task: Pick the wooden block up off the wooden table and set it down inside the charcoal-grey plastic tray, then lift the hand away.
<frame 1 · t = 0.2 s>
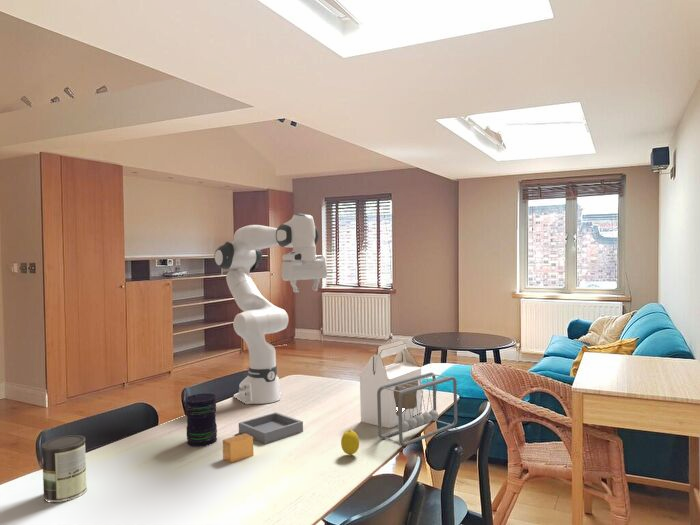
hand: (305, 291, 200), 48 cm above the table, tool pointing down, fingers open, 8 cm apart
black ridged cylinder: (202, 442, 174), on the table
coffee can: (65, 494, 138), on the table
grey tray: (270, 432, 182), on the table
newton's cradle: (419, 433, 177), on the table
gable box: (392, 417, 195), on the table
lemon: (350, 456, 159), on the table
wooden block: (238, 457, 160), on the table
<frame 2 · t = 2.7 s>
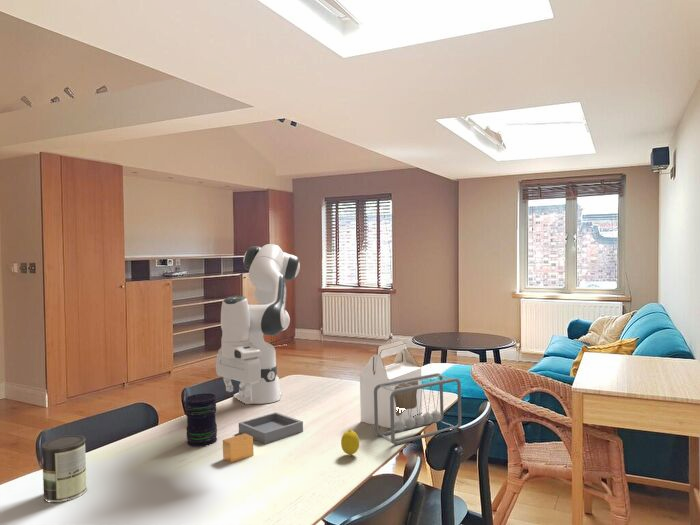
hand: (237, 394, 160), 20 cm above the table, tool pointing down, fingers open, 8 cm apart
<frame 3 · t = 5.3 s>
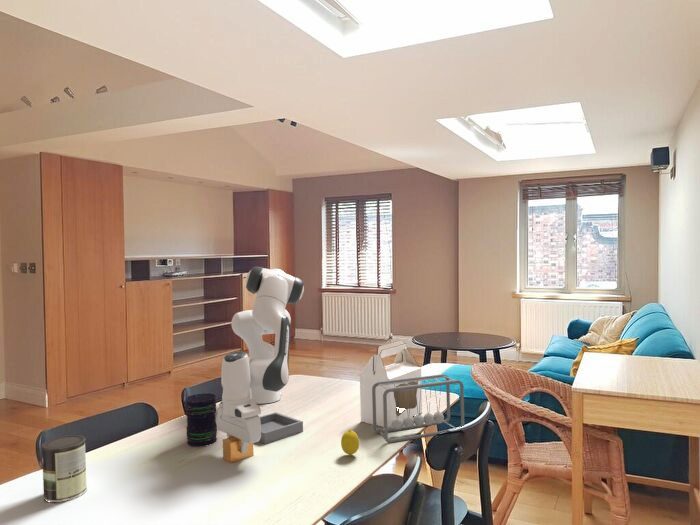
hand: (238, 450, 160), 2 cm above the table, tool pointing down, fingers closed on wooden block, 4 cm apart
wooden block: (238, 457, 160), on the table, touching gripper
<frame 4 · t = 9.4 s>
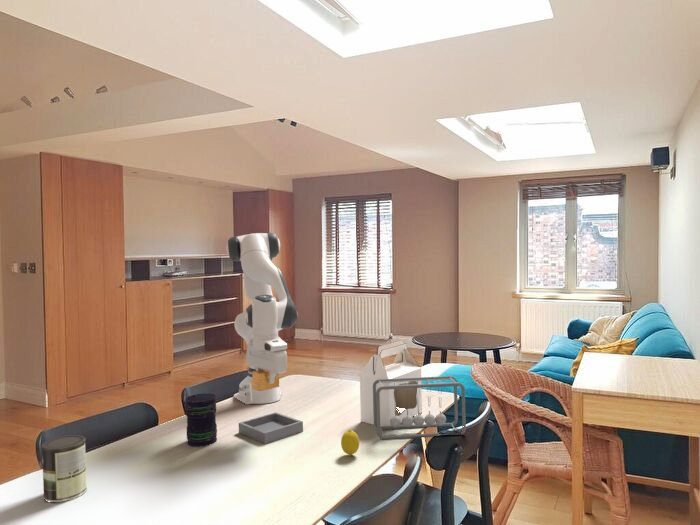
hand: (266, 381, 180), 18 cm above the table, tool pointing down, fingers closed on wooden block, 4 cm apart
wooden block: (265, 387, 180), point 16 cm above the table, touching gripper
when the fingers open (5 cm above the table, at t = 13.2 s): wooden block drops 1 cm, resting on grey tray.
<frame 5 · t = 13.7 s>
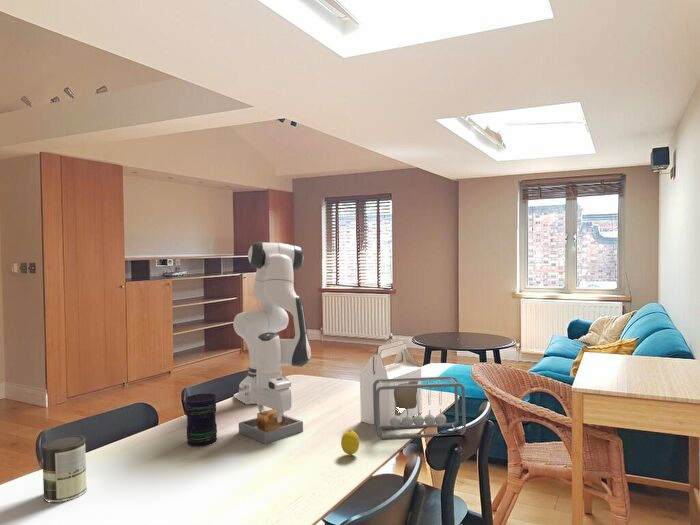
hand: (270, 419, 182), 5 cm above the table, tool pointing down, fingers open, 8 cm apart
wooden block: (270, 429, 182), point 1 cm above the table, touching grey tray
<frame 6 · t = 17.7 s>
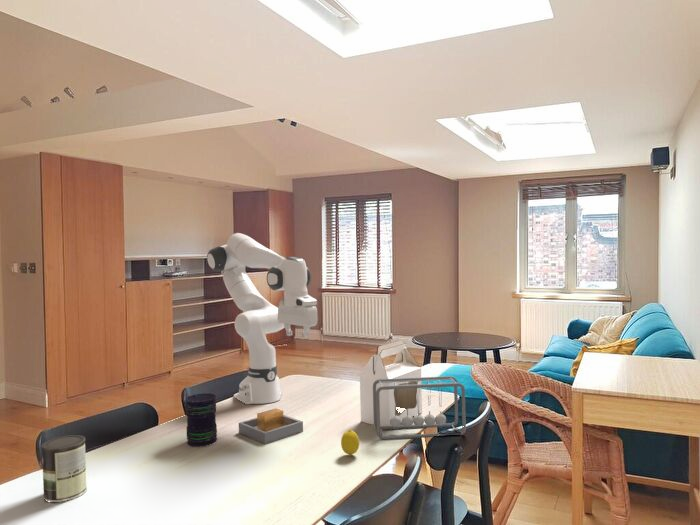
hand: (297, 336, 195), 31 cm above the table, tool pointing down, fingers open, 8 cm apart
at the end: wooden block inside the target area on the grey tray (0.1 cm from its centre), point 1.0 cm above the grey tray's base; wooden block tilted 0°; the gripper is holding nothing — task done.
